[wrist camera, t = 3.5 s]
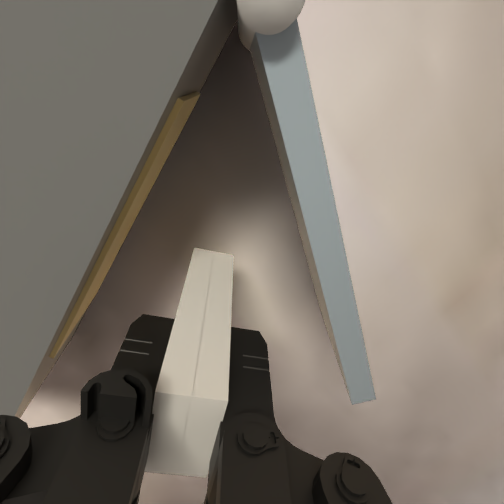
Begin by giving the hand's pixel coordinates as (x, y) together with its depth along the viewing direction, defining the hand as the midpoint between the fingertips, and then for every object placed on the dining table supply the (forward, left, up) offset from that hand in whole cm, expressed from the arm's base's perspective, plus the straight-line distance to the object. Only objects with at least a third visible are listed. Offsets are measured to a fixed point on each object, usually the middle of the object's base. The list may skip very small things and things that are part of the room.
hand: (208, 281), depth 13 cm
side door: (-5, +1, -2) cm, 5 cm away
